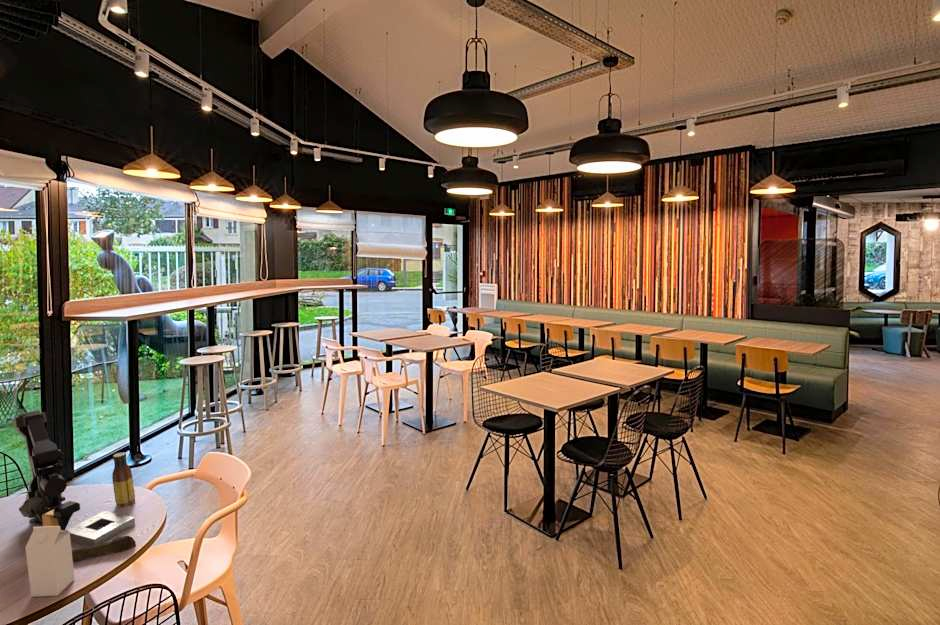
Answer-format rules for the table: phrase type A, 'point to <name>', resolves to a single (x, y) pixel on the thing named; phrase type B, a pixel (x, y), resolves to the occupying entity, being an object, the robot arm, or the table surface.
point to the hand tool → (104, 548)
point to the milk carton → (49, 561)
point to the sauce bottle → (122, 481)
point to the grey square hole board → (113, 527)
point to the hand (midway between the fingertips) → (54, 529)
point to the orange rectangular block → (49, 519)
